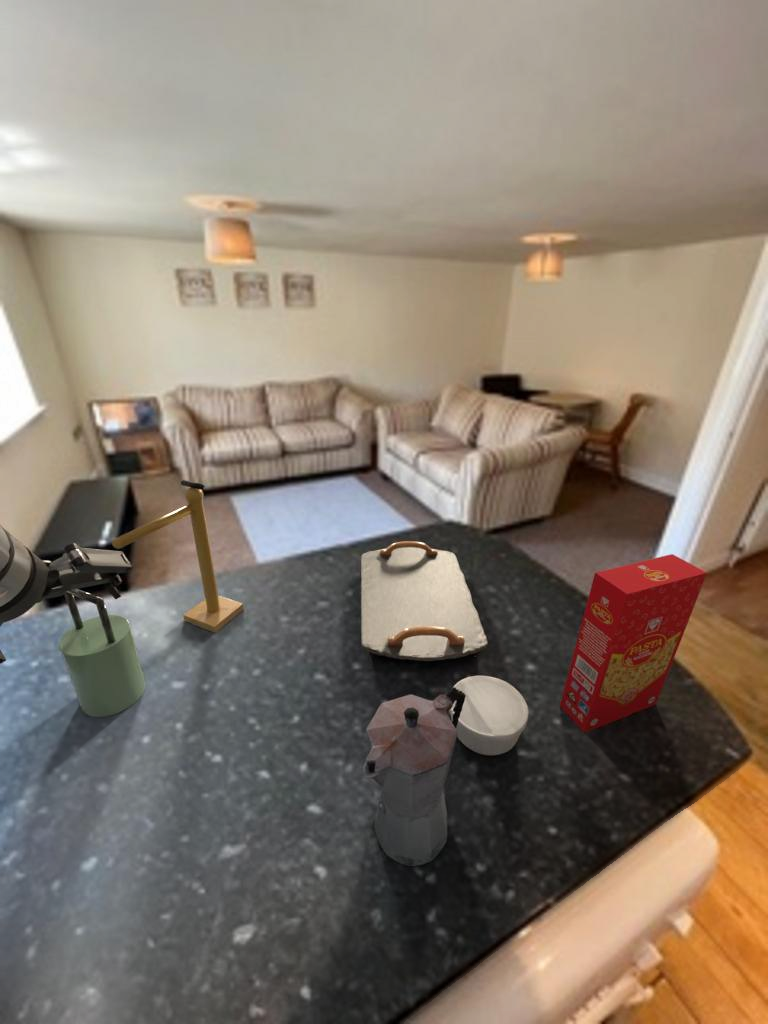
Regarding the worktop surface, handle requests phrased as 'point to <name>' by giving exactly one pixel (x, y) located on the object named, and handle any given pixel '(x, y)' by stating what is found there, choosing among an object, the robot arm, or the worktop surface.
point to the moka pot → (412, 773)
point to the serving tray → (417, 605)
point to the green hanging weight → (101, 659)
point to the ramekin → (490, 715)
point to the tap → (214, 607)
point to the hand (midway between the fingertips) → (58, 619)
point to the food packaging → (629, 638)
